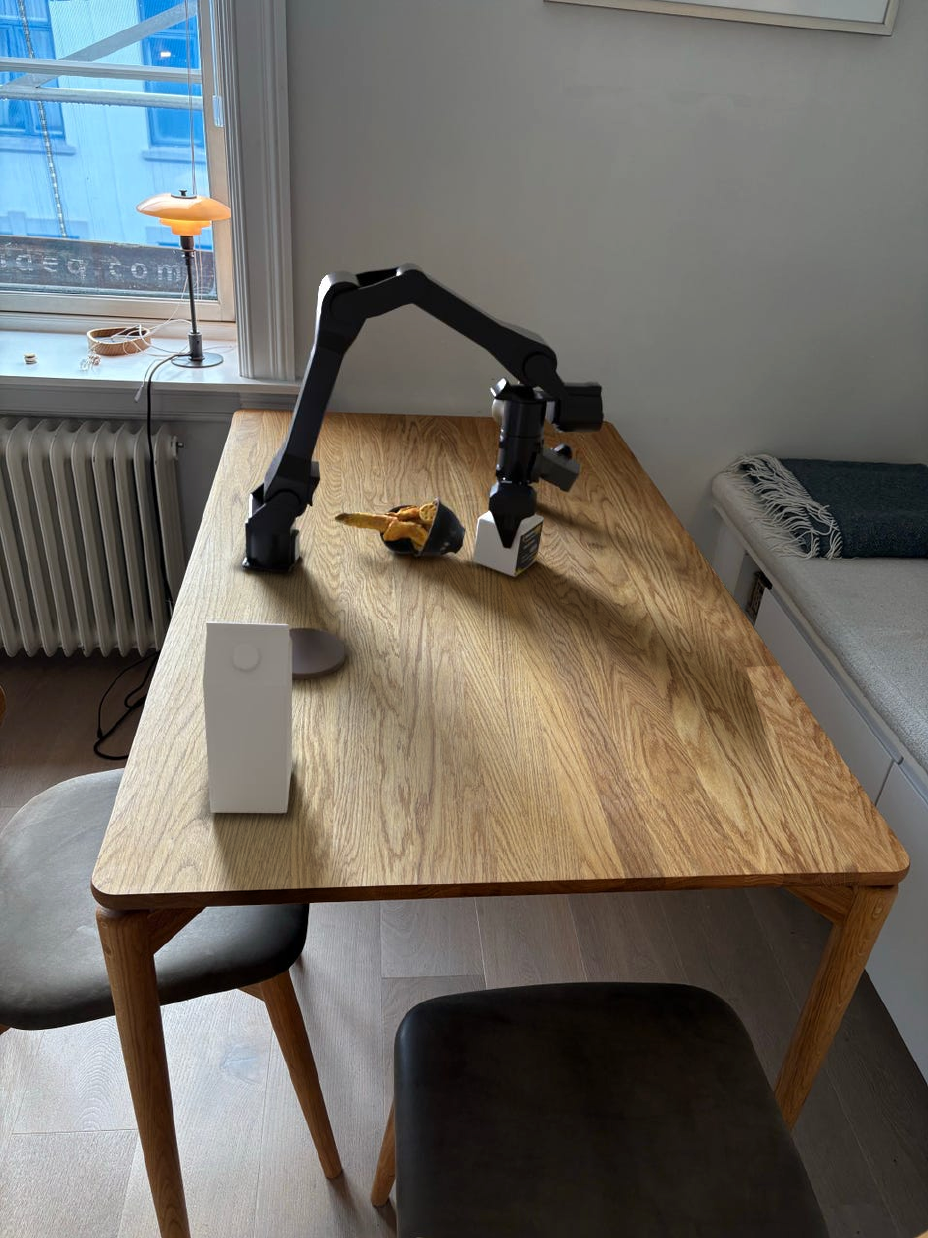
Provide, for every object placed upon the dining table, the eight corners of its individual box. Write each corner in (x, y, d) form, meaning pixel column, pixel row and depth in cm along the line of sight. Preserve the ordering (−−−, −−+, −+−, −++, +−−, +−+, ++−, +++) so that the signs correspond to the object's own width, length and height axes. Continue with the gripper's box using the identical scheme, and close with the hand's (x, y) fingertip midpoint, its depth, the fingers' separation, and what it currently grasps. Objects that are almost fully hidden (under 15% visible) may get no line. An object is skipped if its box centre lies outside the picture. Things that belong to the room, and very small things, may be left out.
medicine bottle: (514, 578, 135) (527, 501, 128) (471, 561, 138) (481, 485, 131) (537, 560, 140) (550, 485, 134) (495, 544, 143) (506, 470, 137)
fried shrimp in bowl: (470, 546, 132) (348, 499, 127) (441, 589, 140) (325, 547, 136) (478, 498, 137) (361, 452, 133) (449, 543, 146) (338, 501, 141)
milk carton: (220, 764, 95) (211, 601, 85) (292, 765, 96) (292, 604, 86) (210, 814, 89) (200, 644, 79) (287, 814, 90) (286, 646, 80)
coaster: (249, 673, 109) (249, 667, 109) (273, 628, 118) (273, 622, 117) (335, 684, 109) (335, 678, 108) (352, 638, 117) (353, 633, 117)
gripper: (581, 462, 120) (564, 571, 128) (581, 415, 136) (565, 514, 144) (494, 452, 121) (482, 560, 129) (504, 406, 137) (492, 505, 145)
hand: (509, 534), depth 137 cm, fingers closed on medicine bottle, 9 cm apart
